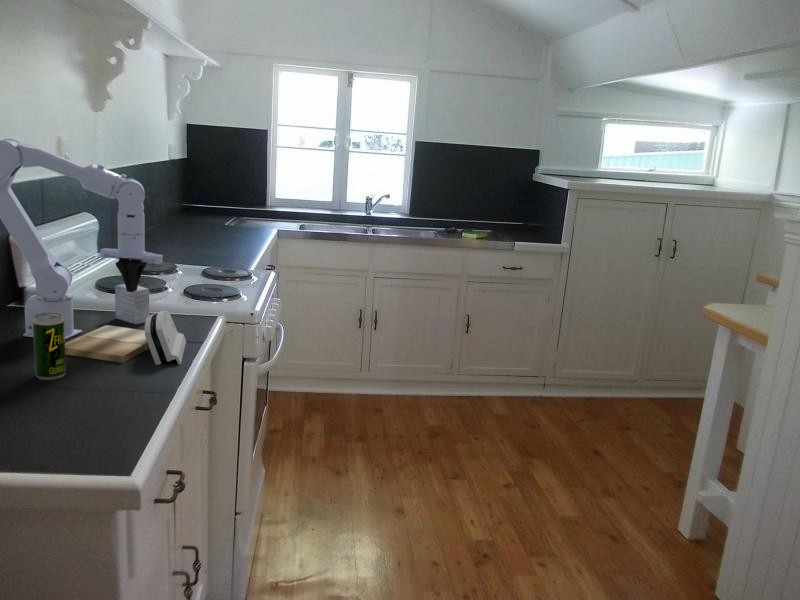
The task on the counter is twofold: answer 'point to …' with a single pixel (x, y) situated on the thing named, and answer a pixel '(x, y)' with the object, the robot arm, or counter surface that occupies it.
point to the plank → (103, 349)
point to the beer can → (49, 346)
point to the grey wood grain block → (132, 304)
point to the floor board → (120, 335)
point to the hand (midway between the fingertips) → (131, 291)
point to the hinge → (164, 338)
